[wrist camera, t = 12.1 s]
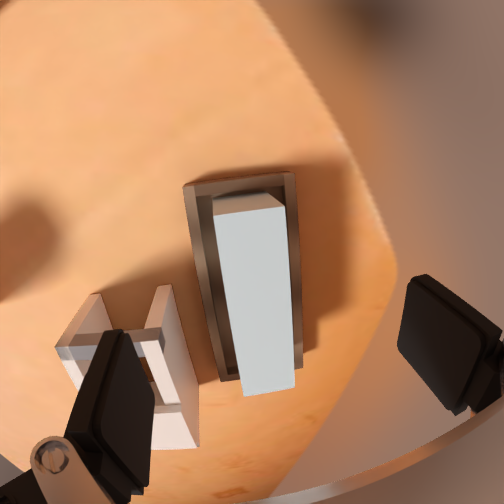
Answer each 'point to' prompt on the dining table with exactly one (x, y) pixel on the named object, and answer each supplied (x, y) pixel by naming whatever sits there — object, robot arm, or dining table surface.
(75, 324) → the dispenser
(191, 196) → the tray
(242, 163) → the dining table surface
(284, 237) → the white rectangular block
